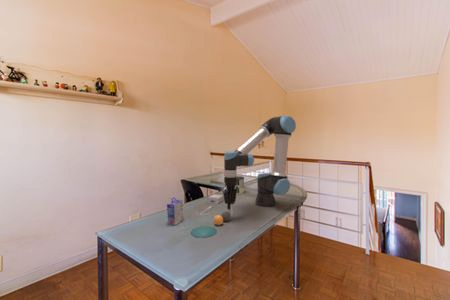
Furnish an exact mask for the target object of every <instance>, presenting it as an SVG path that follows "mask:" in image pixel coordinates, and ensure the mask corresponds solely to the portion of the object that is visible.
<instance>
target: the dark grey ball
mask: <svg viewBox="0 0 450 300" xmlns="http://www.w3.org/2000/svg"><path fill="white" fill-rule="evenodd" d="M220 216H222V217H223V222H228V221H230V220H231V215H230V213H229V212H228V211H223V212H222V213H221V215H220Z"/></svg>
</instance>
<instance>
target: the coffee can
mask: <svg viewBox="0 0 450 300" xmlns="http://www.w3.org/2000/svg"><path fill="white" fill-rule="evenodd" d="M235 186H238V189H237V193H236V195H244V194H245V177H244V176H241V175H240V176H239V175H237V176H236V183H235Z"/></svg>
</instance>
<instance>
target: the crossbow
mask: <svg viewBox="0 0 450 300" xmlns="http://www.w3.org/2000/svg"><path fill="white" fill-rule="evenodd" d="M210 209H212V206H211V205H210V206H209V207H206V208H205V209H203V211H202V212H200V213H198V212H197V211H195V213H196V214H197V215H199V216H205V215H206V216H207V215H211V214H213V212H209V213H206V212H208V211H210ZM199 210H202V209H199Z"/></svg>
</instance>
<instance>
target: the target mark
mask: <svg viewBox="0 0 450 300" xmlns="http://www.w3.org/2000/svg"><path fill="white" fill-rule="evenodd" d="M217 232H218V230H217V229H216V228H215V227H214V226H209V225H203V226H202V225H201V226H195V227H194V228H192V229H191V230H190V235H191V236H193V237H194V238H198V239H199V238H201V239H205V238H210V237H213V236H215V235H216V234H217Z"/></svg>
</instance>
